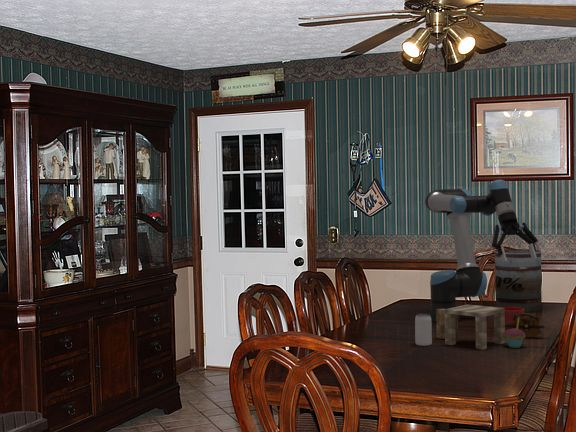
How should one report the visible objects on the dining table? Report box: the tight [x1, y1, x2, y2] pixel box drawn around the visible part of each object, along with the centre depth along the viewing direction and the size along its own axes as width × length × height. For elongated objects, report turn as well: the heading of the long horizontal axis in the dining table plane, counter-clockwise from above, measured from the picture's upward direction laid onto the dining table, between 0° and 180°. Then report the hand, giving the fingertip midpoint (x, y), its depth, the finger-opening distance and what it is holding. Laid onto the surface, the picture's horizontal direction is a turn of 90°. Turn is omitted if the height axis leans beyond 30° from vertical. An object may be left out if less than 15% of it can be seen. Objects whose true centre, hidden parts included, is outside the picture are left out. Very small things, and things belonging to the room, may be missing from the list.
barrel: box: [494, 248, 543, 314], centre depth 399 cm, size 22×22×30 cm
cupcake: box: [503, 316, 526, 349], centre depth 307 cm, size 9×8×12 cm
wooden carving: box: [505, 313, 546, 338], centre depth 325 cm, size 16×5×10 cm, turn 70°
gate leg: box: [435, 308, 459, 343], centre depth 322 cm, size 13×4×12 cm, turn 21°
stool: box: [444, 304, 506, 350], centre depth 314 cm, size 17×17×14 cm
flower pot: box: [500, 307, 524, 331], centre depth 342 cm, size 11×11×10 cm
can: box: [414, 313, 433, 347], centre depth 315 cm, size 6×6×12 cm
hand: (519, 260), depth 328 cm, fingers open, 13 cm apart
